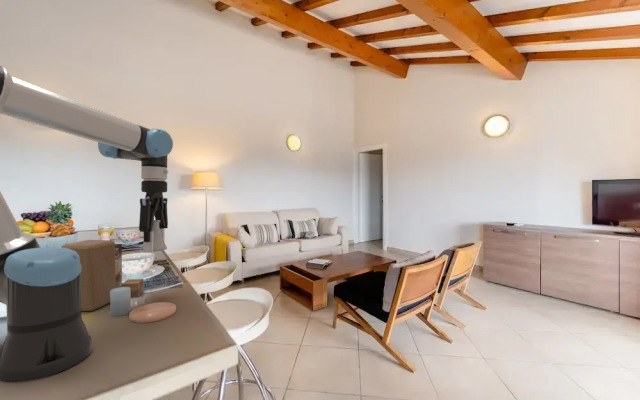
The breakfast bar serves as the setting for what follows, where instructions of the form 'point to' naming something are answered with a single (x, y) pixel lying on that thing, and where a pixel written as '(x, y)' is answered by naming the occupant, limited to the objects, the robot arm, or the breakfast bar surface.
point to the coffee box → (118, 264)
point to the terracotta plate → (152, 312)
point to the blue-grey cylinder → (120, 301)
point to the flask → (157, 238)
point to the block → (95, 271)
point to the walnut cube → (135, 286)
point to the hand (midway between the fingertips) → (154, 249)
